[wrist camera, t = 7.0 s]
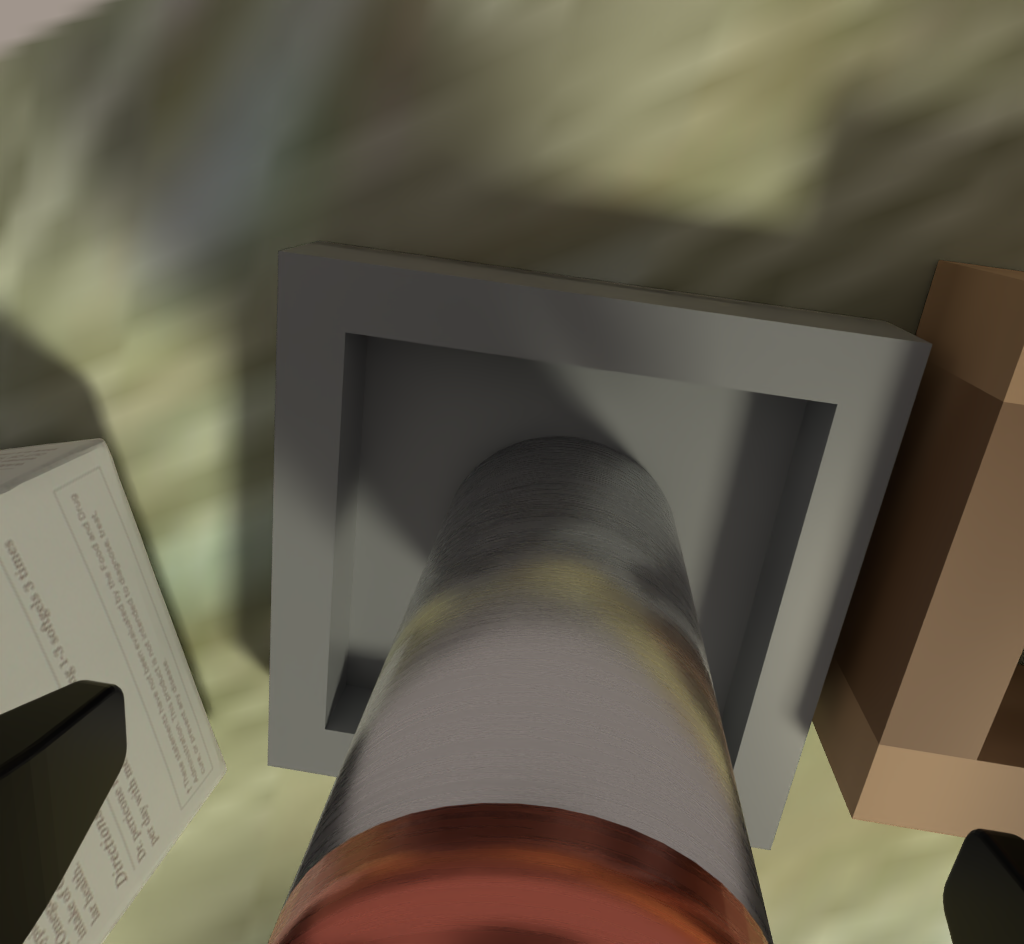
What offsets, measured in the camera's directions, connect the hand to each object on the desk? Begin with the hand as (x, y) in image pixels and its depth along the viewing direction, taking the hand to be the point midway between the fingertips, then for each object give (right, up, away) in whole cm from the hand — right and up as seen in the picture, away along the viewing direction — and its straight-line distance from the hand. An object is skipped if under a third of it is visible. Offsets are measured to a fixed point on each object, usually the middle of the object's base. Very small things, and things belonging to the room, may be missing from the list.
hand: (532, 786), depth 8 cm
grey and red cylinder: (+1, +2, +5) cm, 6 cm away
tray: (+1, +2, +6) cm, 6 cm away
